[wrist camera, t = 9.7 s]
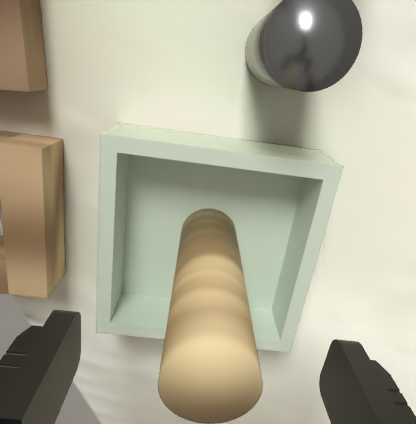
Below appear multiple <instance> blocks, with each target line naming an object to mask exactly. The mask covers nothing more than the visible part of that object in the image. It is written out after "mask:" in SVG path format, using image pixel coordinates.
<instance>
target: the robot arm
mask: <svg viewBox="0 0 416 424" xmlns="http://www.w3.org/2000/svg"><path fill="white" fill-rule="evenodd" d="M80 354H81V315H80V313H79V312H72V311H62V310H54V311H53V312H52V313H51V314H50V316H49V318H48V319H47V321H46V323H45V324H44V326H33V325H32V326H31V327H29V328H28V329H27V330H25V331H24V332H23V333H21V334H20V335H19V336H17V337H16V339H15V340H14V341H13V343H12V344H11V346H10V347H9V349H8V350H7V351H6V355H4V356H3V357H2V359H1V360H0V424H55V421H56V419H57V416H58V414H59V412H60V409H61V407H62V404H63V402H64V400H65V397H66V395H67V393H68V390H69V388H70V385H71V383H72V381H73V378H74V376H75V373H76V371H77V368H78V364H79V360H80ZM319 385H320V393H321V396H322V399H323V402H324V405H325V408H326V411H327V413H328V416H329V419H330V422H331V424H416V416H415V415H414V413H413V411H412V410H411V408H410V407H409V406H408V405H407V402H406V400H405V398H404V397H403V395H402V393H400V392H399V391H400V390H399V388H398V387H397V385H396V383H395V382H394V380H393V378H392V377H391V375H390V374H389V373H388V372H387V371H386V370H385V369H384V368H383V367H382V366H381V365H380V364H379V363H378V362H377V361H375V360H370V359H369V357H368V355H367V353H366V352H365V350H364V348H363V346H362V345H361V344H360V343H359V342H355V341H346V340H333V341H332V343H331V345H330V348H329V351H328V354H327V357H326V360H325V362H324V365H323V368H322V371H321V374H320V381H319Z"/></svg>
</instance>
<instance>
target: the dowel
mask: <svg viewBox="0 0 416 424" xmlns="http://www.w3.org/2000/svg"><path fill="white" fill-rule="evenodd" d="M262 388H263V382H262V376H261V371H260V365H259V359H258V354H257V348H256V342H255V337H254V331H253V325H252V320H251V314H250V308H249V303H248V297H247V292H246V286H245V280H244V275H243V269H242V263H241V258H240V252H239V246H238V241H237V235H236V229H235V226H234V223H233V221H232V220H231V218H230V217H229V216H228V215H226V214H225V213H223V212H222V211H219V210H216V209H201V210H198V211H196V212H194V213H192V214H191V215H190V216H188V218H187V219H186V220H185V221H184V223H183V226H182V230H181V236H180V243H179V249H178V256H177V262H176V268H175V275H174V281H173V288H172V294H171V301H170V307H169V314H168V320H167V327H166V333H165V340H164V346H163V353H162V359H161V366H160V372H159V378H158V392H159V395H160V398H161V399H162V401H163V403H164V404H165V405H166V407H167V408H168V409H169V410H171V411H172V412H173V413H174V414H176V415H178V416H179V417H182V418H184V419H186V420H189V421H193V422H197V423H206V424H214V423H223V422H227V421H231V420H233V419H236V418H238V417H240V416H242V415H244V414H245V413H247V412H248V411H249V410H251V409H252V408H253V407H254V406H255V404H256V403H257V402H258V400H259V398H260V396H261V393H262Z"/></svg>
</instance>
